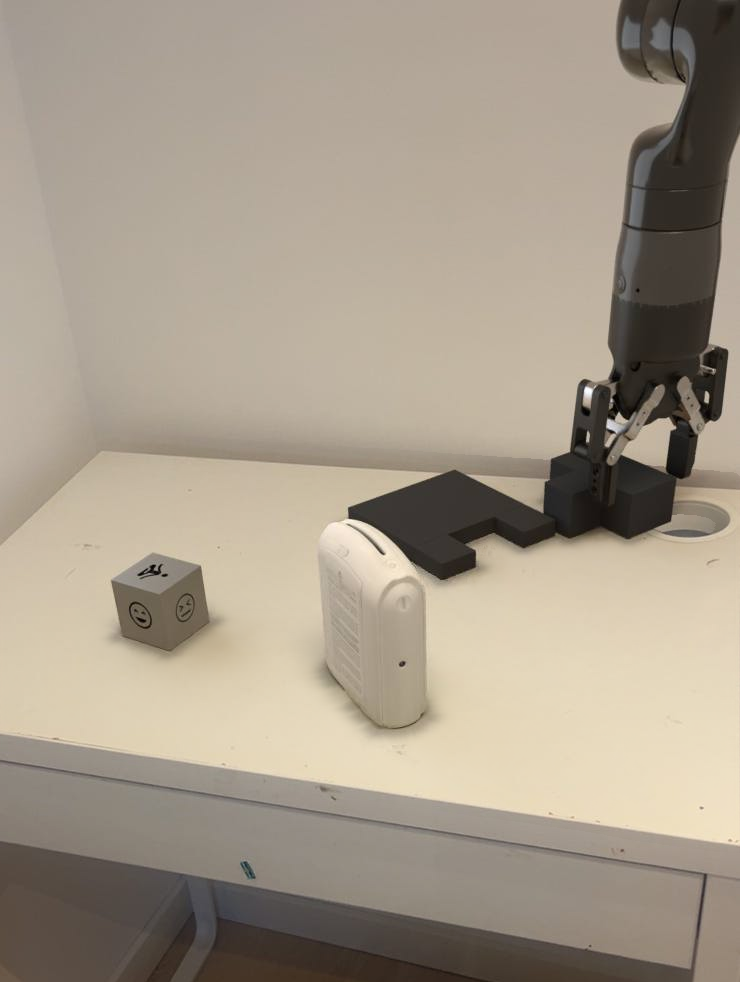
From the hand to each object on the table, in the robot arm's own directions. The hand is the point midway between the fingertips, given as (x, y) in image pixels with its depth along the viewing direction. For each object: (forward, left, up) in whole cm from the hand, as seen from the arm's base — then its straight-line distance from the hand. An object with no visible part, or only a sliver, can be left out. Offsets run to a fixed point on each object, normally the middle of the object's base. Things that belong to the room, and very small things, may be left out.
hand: (640, 489), depth 97 cm
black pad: (+12, -10, -3) cm, 16 cm away
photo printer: (+32, +7, -4) cm, 33 cm away
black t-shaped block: (+1, -4, -3) cm, 5 cm away
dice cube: (+40, -11, -4) cm, 41 cm away
